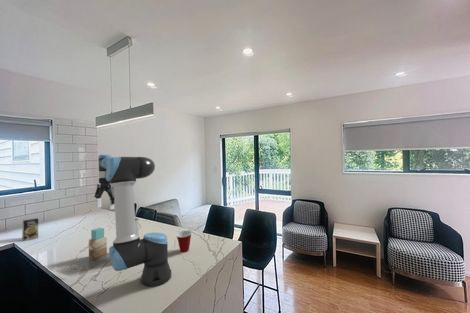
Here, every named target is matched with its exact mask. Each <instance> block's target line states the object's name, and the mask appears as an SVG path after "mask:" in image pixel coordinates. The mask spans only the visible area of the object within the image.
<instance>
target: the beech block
mask: <svg viewBox="0 0 470 313" xmlns="http://www.w3.org/2000/svg"><path fill="white" fill-rule="evenodd" d="M107 242H108V240H107V237H106V236H104V238H102V239H99V240H92V239H91V238H89V239H88V251H89V250H93V251H97V250H100V249H102V248H105V247H107V248H108V246H107V244H108V243H107Z"/></svg>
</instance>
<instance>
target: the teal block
mask: <svg viewBox="0 0 470 313" xmlns="http://www.w3.org/2000/svg"><path fill="white" fill-rule="evenodd" d="M90 230H91V231H90V232H91V233H90V234H91V235H90V236H91V237H90V239H92V240H99V239H102V238H104V237H105V228H103V227H97V228H93V229H90Z"/></svg>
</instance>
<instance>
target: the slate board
mask: <svg viewBox="0 0 470 313" xmlns="http://www.w3.org/2000/svg"><path fill="white" fill-rule="evenodd" d="M109 261H110V262H111V259H110V254H109V252H107V256H106V257H104V258H101V259H99V260H97V261H94V260H91V259H89V256H87V257H85V258H82V259H80V260H77V261H73V263H72V264H73V265H77V266H79V267H83V268H86V269H89V270H92V269H94V268H96V267H98V266H101V265H102V264H103V265H104V264H105V263H106V262H109Z"/></svg>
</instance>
